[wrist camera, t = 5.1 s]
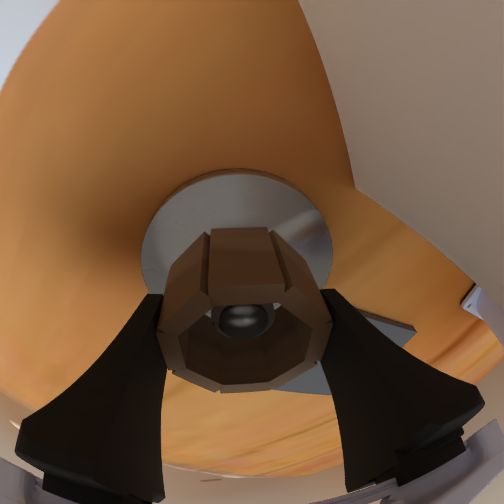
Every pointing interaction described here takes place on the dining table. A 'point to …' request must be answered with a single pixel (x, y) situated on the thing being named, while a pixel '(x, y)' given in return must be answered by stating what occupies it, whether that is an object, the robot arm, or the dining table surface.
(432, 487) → the robot arm
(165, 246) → the hub
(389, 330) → the mat
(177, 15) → the dining table surface
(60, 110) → the dining table surface
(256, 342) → the ring
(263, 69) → the dining table surface
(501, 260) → the milk
